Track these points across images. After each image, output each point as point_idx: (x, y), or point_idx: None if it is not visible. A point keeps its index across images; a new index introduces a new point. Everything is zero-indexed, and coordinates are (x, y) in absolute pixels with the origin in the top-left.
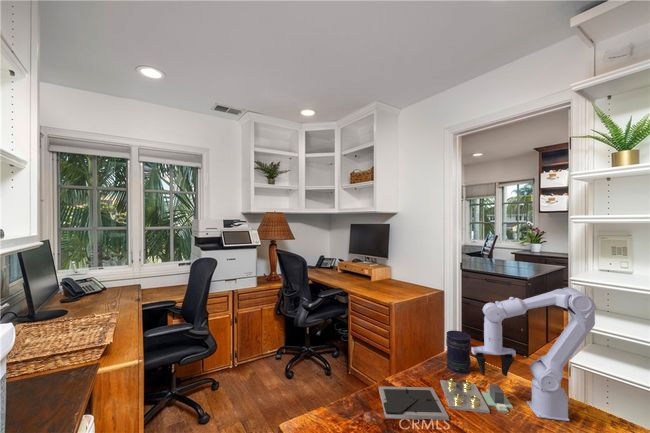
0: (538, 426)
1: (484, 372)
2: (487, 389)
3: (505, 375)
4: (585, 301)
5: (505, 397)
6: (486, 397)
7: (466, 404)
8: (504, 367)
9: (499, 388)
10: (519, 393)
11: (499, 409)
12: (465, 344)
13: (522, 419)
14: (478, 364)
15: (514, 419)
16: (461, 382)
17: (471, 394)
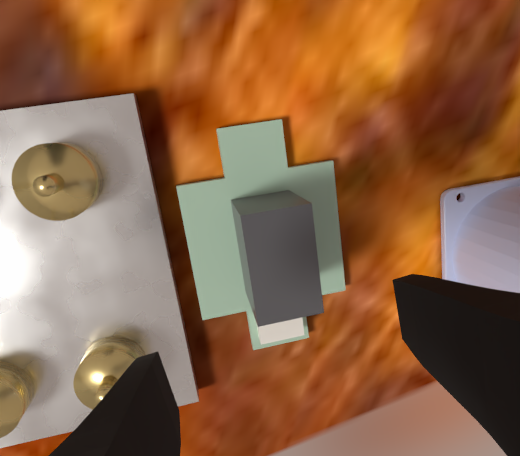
0: (416, 385)
1: (175, 449)
2: (227, 129)
3: (412, 342)
4: None
5: (330, 192)
6: (202, 245)
7: (56, 401)
8: (466, 377)
9: (307, 254)
10: (438, 85)
11: (260, 344)
12: None
13: (360, 363)
14: (90, 415)
15: (319, 380)
16: (14, 112)
17: (95, 270)
